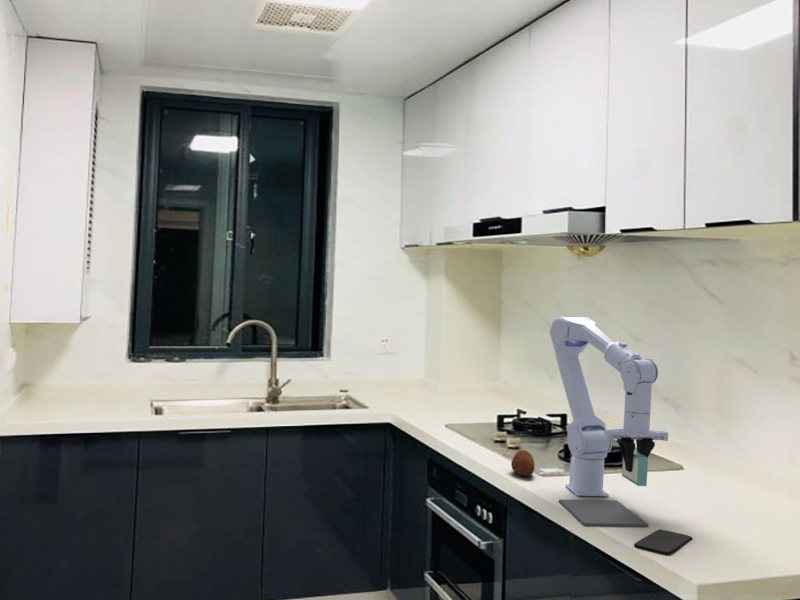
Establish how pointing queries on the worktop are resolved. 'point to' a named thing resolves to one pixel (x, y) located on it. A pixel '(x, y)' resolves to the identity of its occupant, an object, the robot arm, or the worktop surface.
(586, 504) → the mat
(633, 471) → the block
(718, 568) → the worktop surface
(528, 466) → the potato
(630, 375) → the robot arm
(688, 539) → the smartphone
